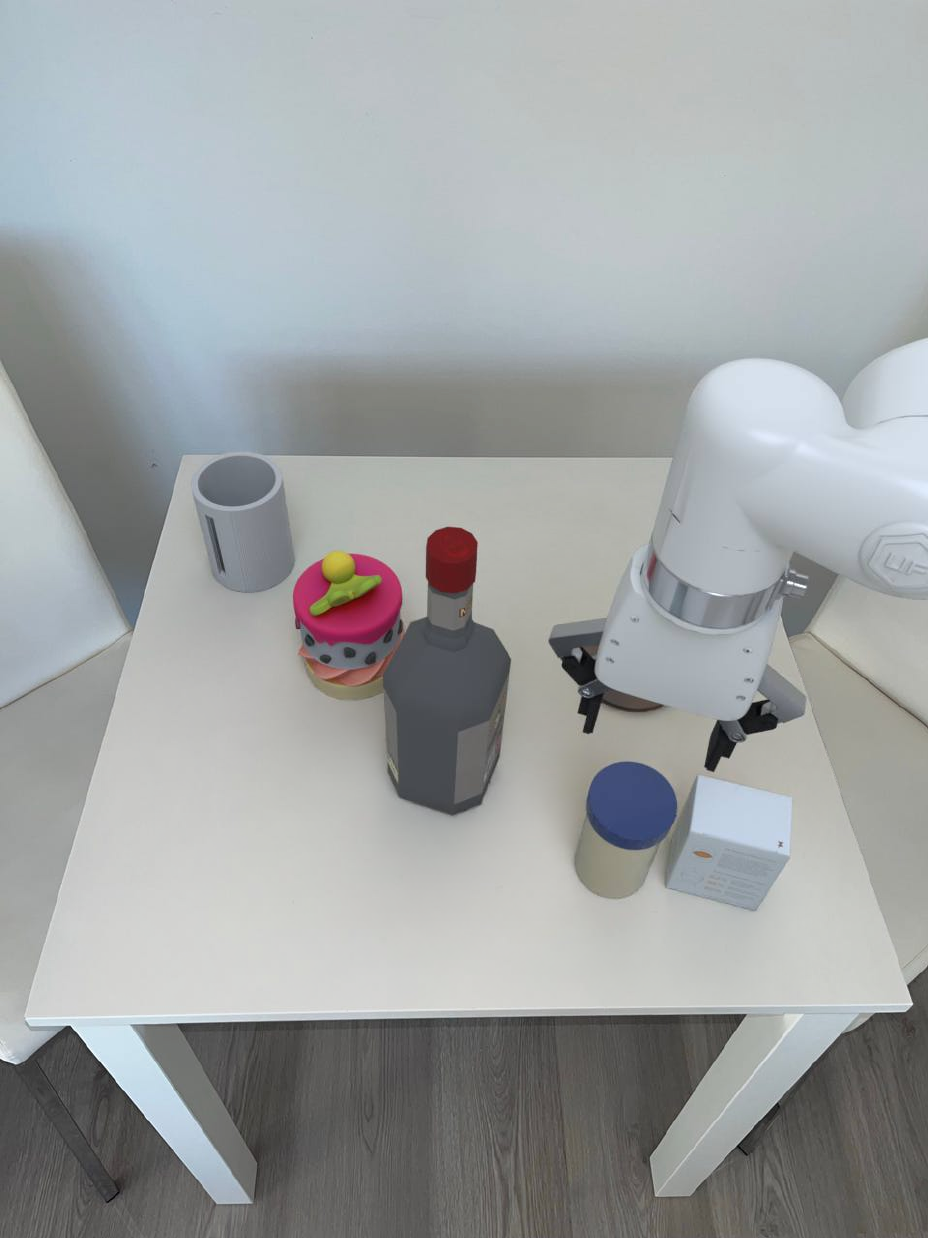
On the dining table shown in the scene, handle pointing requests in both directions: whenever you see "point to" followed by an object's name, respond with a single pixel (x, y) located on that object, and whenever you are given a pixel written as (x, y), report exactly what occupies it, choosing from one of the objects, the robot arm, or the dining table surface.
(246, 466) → the cup
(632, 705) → the coaster
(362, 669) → the cake
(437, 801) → the liquor
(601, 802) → the lid
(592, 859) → the jar
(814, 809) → the dining table surface
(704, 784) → the small box
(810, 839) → the dining table surface
